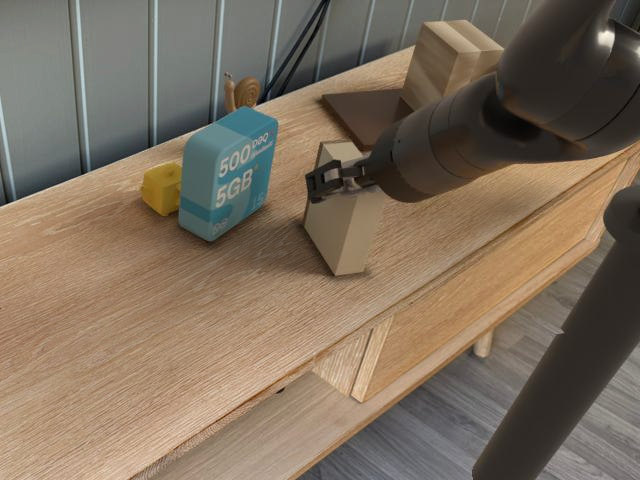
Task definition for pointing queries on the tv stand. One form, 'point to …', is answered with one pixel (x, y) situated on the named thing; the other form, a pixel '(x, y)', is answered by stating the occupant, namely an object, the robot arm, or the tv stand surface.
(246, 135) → the data package
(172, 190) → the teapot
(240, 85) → the snail figurine
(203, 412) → the tv stand surface
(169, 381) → the tv stand surface
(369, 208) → the cream book
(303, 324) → the tv stand surface
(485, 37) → the book rack
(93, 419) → the tv stand surface
